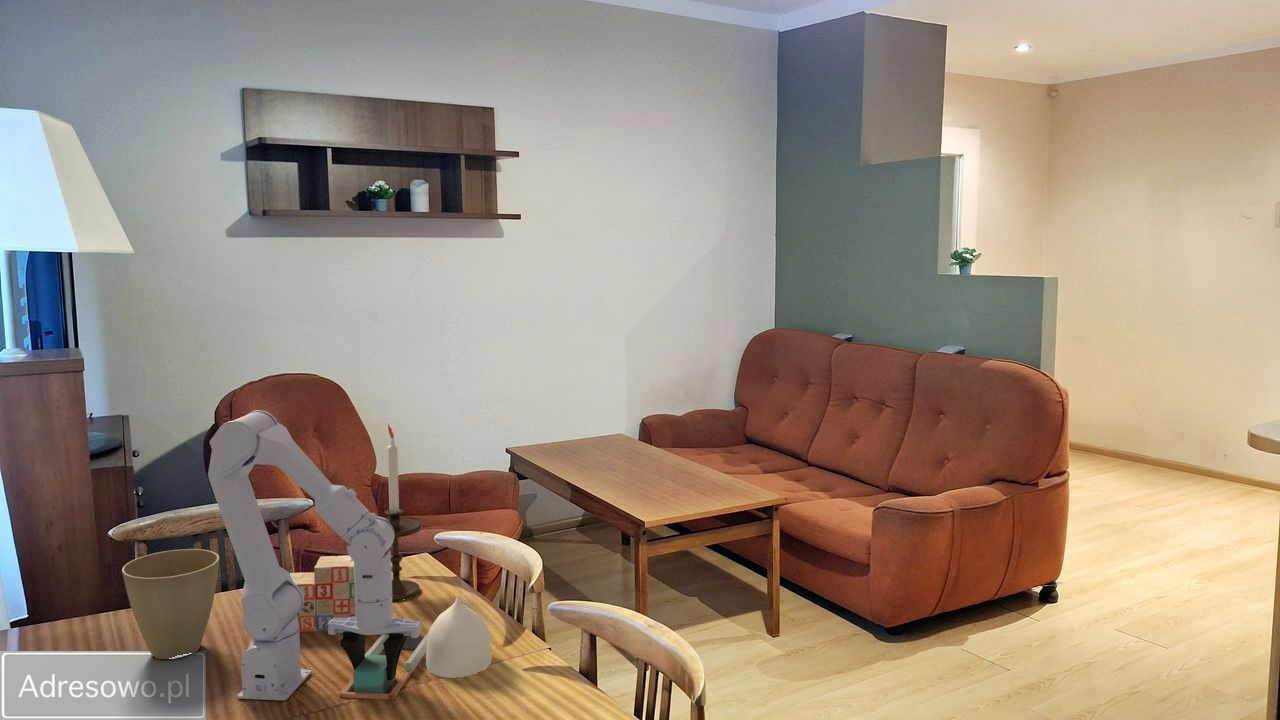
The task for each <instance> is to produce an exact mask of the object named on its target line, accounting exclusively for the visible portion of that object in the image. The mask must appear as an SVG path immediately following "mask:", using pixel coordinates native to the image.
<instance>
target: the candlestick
mask: <svg viewBox="0 0 1280 720" xmlns="http://www.w3.org/2000/svg"><path fill="white" fill-rule="evenodd" d="M387 427H388V428H387V429H388V434H389V436H390V442H389V445H387V467H388V468H387V469H388V470H387V472H388V476H387V477H388V503H389V504H388V505H389V509H387V510H385V511H384V512H383V513H384V514H385V515H388V516H386V517H384V518H385V519H387V520H388V521H389V523H390V524H391V526H392V527H393V529H394V533H395V538H394V541H393V543H392V545H391V553H390V556H391V571H392V601H394V602H400V601H399V600H403V599H407V598H410V597H413V596H415V595H416V594H417V593H418V592H419V593H420V591H419V589H420V584H419V583H417V582H416V581H412V580H407V579H405V580H403V579H402V580H401V576H400V575H401V573H400V572H401V571H403V566H401V564H400V563H401V562H402V560H403V559H404V556H403V554H402V553H400V543H399V538H402V537H408V536H412V535H414V534H417V533H419V532H421V531H422V529H423V521H422V519H420V518H417V517H414V516H408V515H405V516H404V515H401V514H404V513H405V510H404V509H401V508H400V499H399V498H400V496H399V495H400V493H399V492H400V491H399V490H400V489H399V463H398V461H399V459H398V457H399V456H398V446H397V445H396V444H395V440H394V438H395V434H394V432H393V431H392V427H390V424H389V423H388V424H387ZM416 596H417V595H416ZM416 596H415V597H416ZM413 598H414V597H413ZM410 599H411V598H410ZM407 600H408V599H407ZM403 601H404V600H403Z"/></svg>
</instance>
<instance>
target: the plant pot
mask: <svg viewBox="0 0 1280 720" xmlns="http://www.w3.org/2000/svg"><path fill="white" fill-rule="evenodd" d="M219 564H220V555H219V554H218V553H216V552H214V551H211V550H208V549H199V548H187V549H186V548H185V549H184V548H183V549H173V550H172V549H171V550H165V551H159V552H154V553H150V554H147V555H143V556H141V557H138V558H135V559H132V560H130V561H129V562H127V563H126V564H125V565H124V566H122V569H121V572H122V576H123V581H124V586H125V590H126V594H127V598H128V601H129V605H130V609H131V611H132V613H133V616H134V619H135V621H136V624H137V628H138V629H139V632H140V634H141V635H142V638H143V640H144V642H145V645H146V646H147V648H148V650H149V652H150V654H151V655H153V656H155V657H157V658H158V659H157V660H160V659H169V658H172V657H175V656H177V655H183V654H189V653H193V652H195V653H196V652H197V651H198V650H199V649H200V647H201V644H202V641H203V638H204V635H205V632H206V629H207V626H208V623H209V619H210V615H211V613H212V607H213V603H214V599H215V594H216V589H217V582H218V575H219V574H218V573H219V566H220V565H219ZM193 654H194V653H193ZM153 656H152V657H153Z"/></svg>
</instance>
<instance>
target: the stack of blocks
mask: <svg viewBox="0 0 1280 720" xmlns="http://www.w3.org/2000/svg"><path fill="white" fill-rule="evenodd" d="M289 573H290V576H291V578H292V580H293V582H294V583H295V584H296V585H297V586H298V587H299V588H300V589H301V591H302V593H303V596H304V604H303V607H302V609H301V611H300V612H299V613H298V614H297V620H298V623H299V633H302V632H303V633H304V632H325V631H328V623H329V622H330V621H331V620H332V619H333V618H350V617H355V588H354V561H353V560H352V559H351V557H350V556H349V554H348V555H337V556H336V555H330V556H329V555H327V556H325V555H324V556H323V555H322V556H319V559H318V560H317V562H316V565H314V567H313V572H289Z"/></svg>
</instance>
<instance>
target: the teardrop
mask: <svg viewBox="0 0 1280 720" xmlns="http://www.w3.org/2000/svg"><path fill="white" fill-rule="evenodd" d="M429 630H430V631H429ZM429 630H428V631H429V634H428V637H427V652H426V653H425V655H426V656H425V657H426V658H425V667H426V668H427V671H428V672H429V673H430V674H433V675H435V676H438V677H439V678H448V679H457V678H456V677H458V678H459V677H462V678H465V677H464V676H466V677H469V676H468V675H471V676H473V675H472V674H475V673H477V672H479V671H481V670H483V669H484V668H487V667H488V666H489V664H490V663H491V664H492V662H491V660H492V661H493V654H492V645H491V644H492V643H491V642H492V641H491V633H490V630H489V627H488V625H487V624H486V623H485V621H484V620H483V618H482V617H481V616H480V615H479V614H478V613H477V612H475V611H474V610H473V609H471V608H470V607H469V606H467V605H465V604H464V603H463V602H462V601H461V598H460V597H459V595H457V597H456V598H455V600H454V602H453V604H452V605H450V606H449V607H448V608H447V609H446V610H444V611H443V612H441V613H440V614H439V615H438V617H437V618H436V619H435V621H434V622H433V623H432V624H431V626H430V628H429ZM489 667H490V666H489ZM489 667H488V668H489ZM488 668H487V669H488ZM459 679H460V678H459Z"/></svg>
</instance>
